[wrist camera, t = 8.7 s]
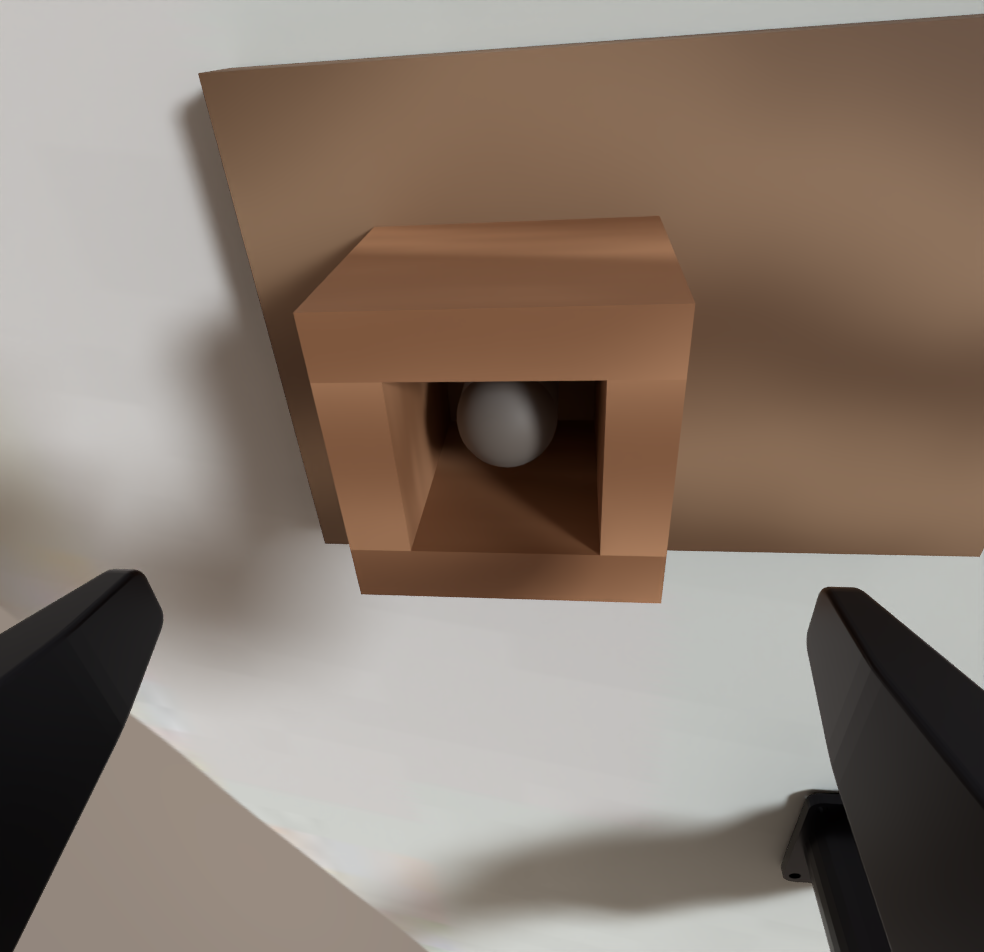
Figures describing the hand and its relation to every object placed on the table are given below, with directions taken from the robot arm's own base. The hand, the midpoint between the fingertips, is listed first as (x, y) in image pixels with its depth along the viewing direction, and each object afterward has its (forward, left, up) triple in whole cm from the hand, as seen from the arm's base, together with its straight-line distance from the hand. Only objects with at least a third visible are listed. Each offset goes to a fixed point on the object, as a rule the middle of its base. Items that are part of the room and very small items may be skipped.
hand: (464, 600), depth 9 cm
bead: (0, 0, -8) cm, 8 cm away
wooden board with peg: (0, -3, -10) cm, 10 cm away
